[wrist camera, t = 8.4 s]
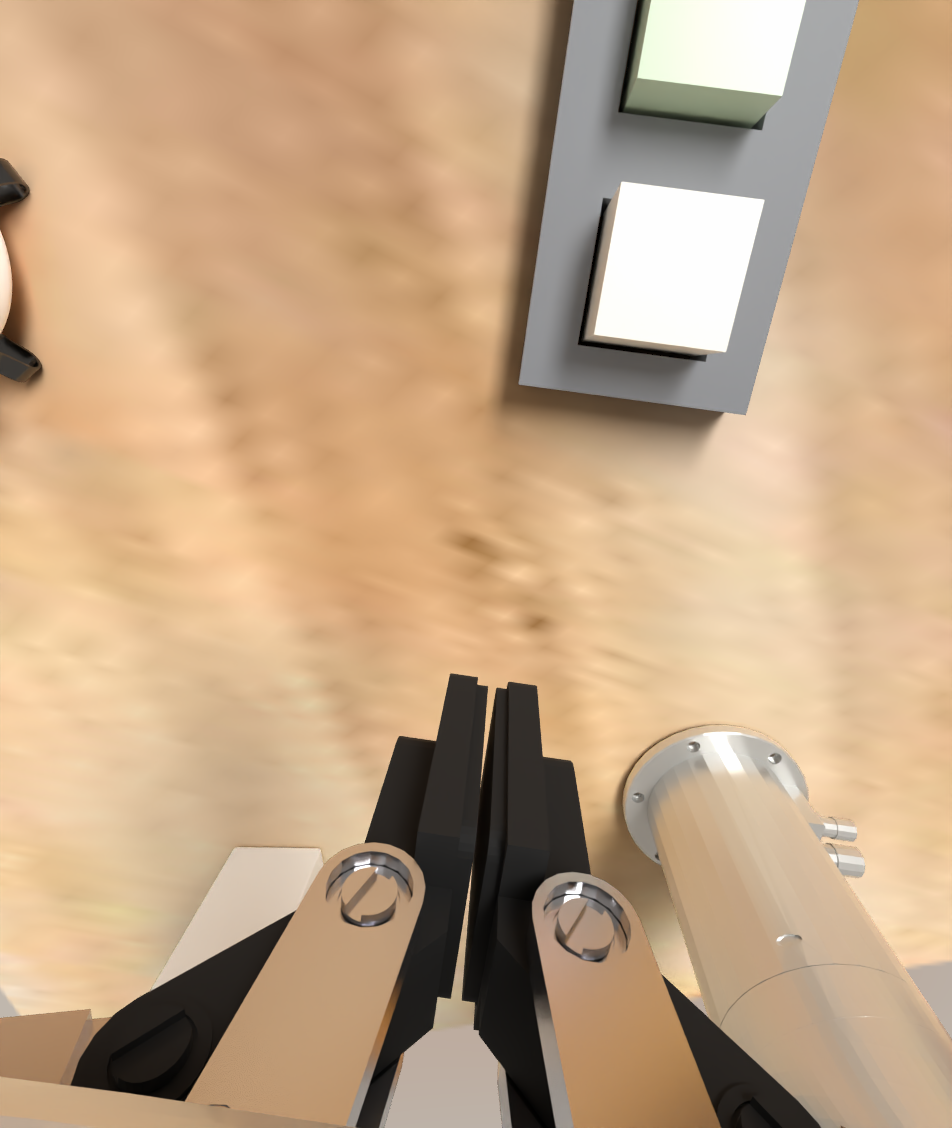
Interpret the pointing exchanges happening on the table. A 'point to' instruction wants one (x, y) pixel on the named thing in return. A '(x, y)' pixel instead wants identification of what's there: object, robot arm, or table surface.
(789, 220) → the key console
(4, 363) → the coffee press
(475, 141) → the table surface
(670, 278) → the cream key
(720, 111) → the sage key
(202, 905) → the milk carton
